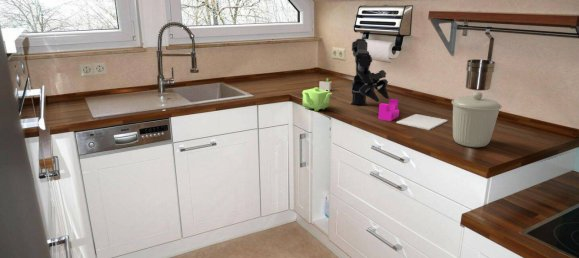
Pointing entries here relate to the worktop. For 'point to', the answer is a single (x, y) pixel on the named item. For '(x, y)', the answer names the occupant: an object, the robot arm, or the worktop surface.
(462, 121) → the canister
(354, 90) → the robot arm
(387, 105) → the toy block
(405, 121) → the mat
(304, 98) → the kettle
